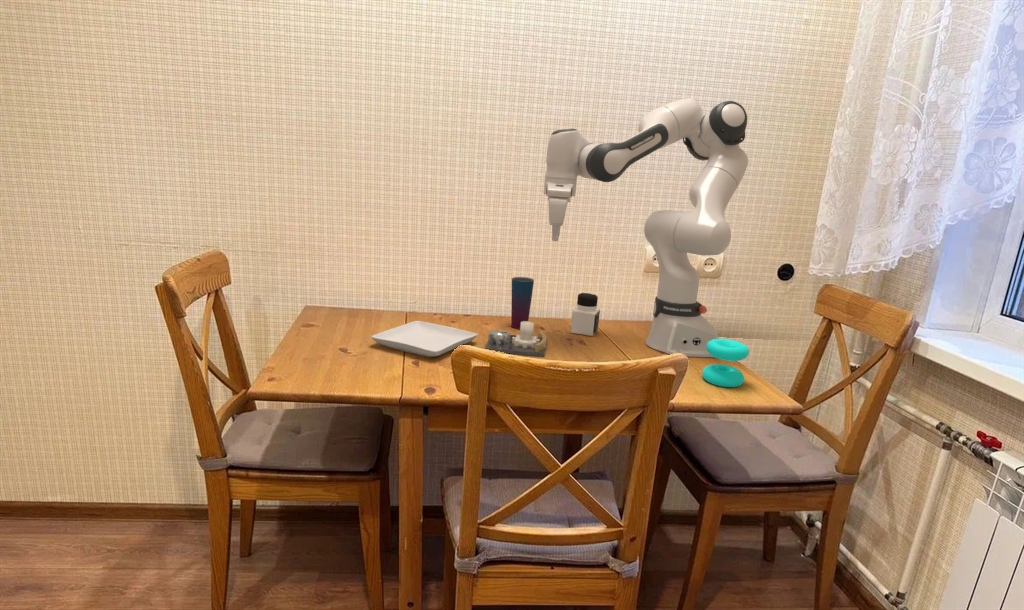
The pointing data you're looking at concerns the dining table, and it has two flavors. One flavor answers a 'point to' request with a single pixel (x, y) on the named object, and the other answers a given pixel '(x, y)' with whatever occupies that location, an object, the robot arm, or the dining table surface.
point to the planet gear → (526, 336)
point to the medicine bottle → (585, 315)
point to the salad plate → (424, 338)
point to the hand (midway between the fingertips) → (555, 238)
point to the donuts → (725, 373)
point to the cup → (521, 300)
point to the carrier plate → (503, 343)
